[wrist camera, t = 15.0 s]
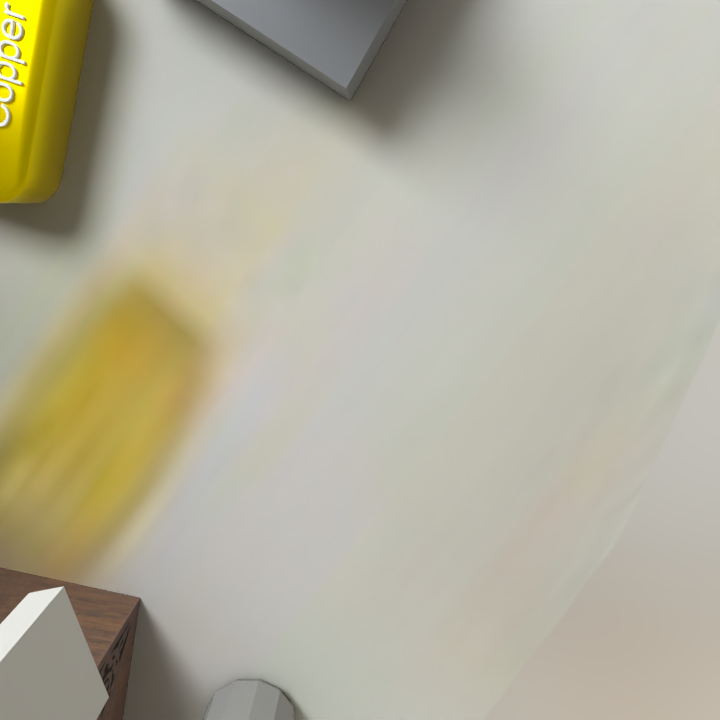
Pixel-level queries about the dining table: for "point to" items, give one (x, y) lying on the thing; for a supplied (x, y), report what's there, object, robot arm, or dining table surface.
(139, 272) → the dining table surface
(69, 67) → the element tile
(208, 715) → the water bottle
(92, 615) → the tissue box cover
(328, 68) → the socket
